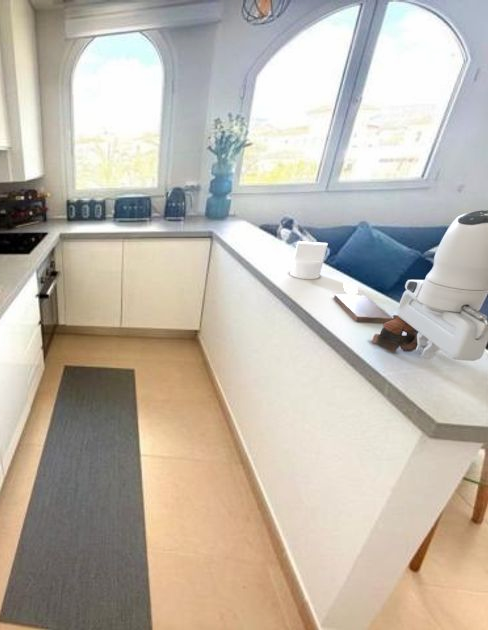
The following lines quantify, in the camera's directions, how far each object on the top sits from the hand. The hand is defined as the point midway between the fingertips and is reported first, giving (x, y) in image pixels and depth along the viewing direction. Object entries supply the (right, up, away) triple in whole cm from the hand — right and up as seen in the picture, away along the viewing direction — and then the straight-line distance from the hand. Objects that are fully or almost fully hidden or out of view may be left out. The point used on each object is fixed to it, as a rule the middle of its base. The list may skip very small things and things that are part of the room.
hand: (423, 354), depth 74 cm
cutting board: (+8, +10, +26) cm, 29 cm away
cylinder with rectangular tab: (+11, +23, +53) cm, 59 cm away
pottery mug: (+2, +1, +8) cm, 8 cm away
